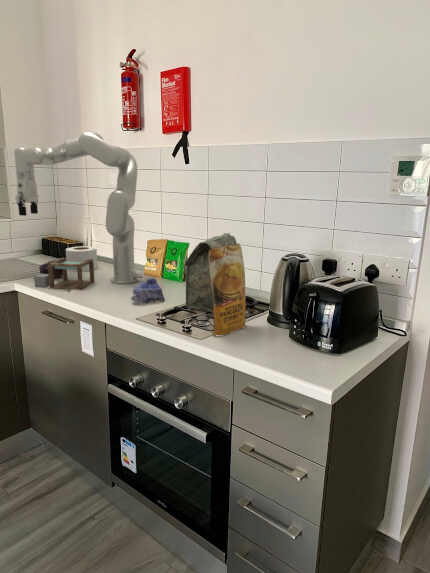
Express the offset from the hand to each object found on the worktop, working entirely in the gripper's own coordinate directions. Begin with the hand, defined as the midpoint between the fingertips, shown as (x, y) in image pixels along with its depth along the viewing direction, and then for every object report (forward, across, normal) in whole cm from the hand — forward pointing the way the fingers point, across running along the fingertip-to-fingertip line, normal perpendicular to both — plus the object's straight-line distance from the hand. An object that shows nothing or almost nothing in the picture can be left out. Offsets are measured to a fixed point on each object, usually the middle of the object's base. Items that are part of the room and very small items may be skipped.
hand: (28, 214), depth 202 cm
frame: (+30, -10, -24) cm, 40 cm away
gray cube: (+30, -14, -12) cm, 35 cm away
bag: (+30, -27, -91) cm, 99 cm away
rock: (+30, +2, -10) cm, 32 cm away
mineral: (+30, -28, -64) cm, 76 cm away
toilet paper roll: (+30, +24, -14) cm, 41 cm away
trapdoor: (+21, -10, -24) cm, 34 cm away
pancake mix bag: (+30, -55, -99) cm, 117 cm away
